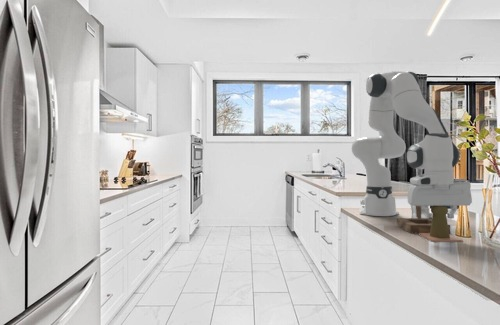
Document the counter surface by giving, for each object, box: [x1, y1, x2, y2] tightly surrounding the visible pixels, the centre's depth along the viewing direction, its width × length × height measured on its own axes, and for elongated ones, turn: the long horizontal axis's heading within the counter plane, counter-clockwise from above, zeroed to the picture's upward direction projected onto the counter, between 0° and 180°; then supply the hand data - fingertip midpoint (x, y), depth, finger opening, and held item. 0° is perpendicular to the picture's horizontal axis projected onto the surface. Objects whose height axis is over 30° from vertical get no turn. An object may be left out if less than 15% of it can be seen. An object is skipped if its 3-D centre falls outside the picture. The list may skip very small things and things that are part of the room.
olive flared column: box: [430, 206, 450, 238], centre depth 112 cm, size 6×6×11 cm
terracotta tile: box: [418, 233, 464, 243], centre depth 112 cm, size 10×10×1 cm
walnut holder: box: [396, 217, 451, 234], centre depth 125 cm, size 14×14×3 cm
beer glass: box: [410, 205, 425, 218], centre depth 140 cm, size 7×7×15 cm
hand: (439, 218), depth 111 cm, fingers open, 6 cm apart
